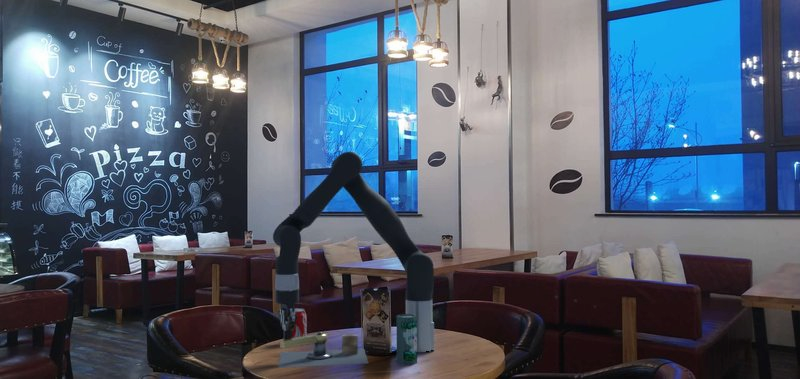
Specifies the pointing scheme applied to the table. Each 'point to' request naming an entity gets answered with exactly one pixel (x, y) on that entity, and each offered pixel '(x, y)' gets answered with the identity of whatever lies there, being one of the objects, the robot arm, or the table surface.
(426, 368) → the table surface
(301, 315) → the soda can
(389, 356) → the table surface
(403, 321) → the can
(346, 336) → the keeper
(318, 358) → the post
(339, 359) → the mat
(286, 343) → the swing bar
